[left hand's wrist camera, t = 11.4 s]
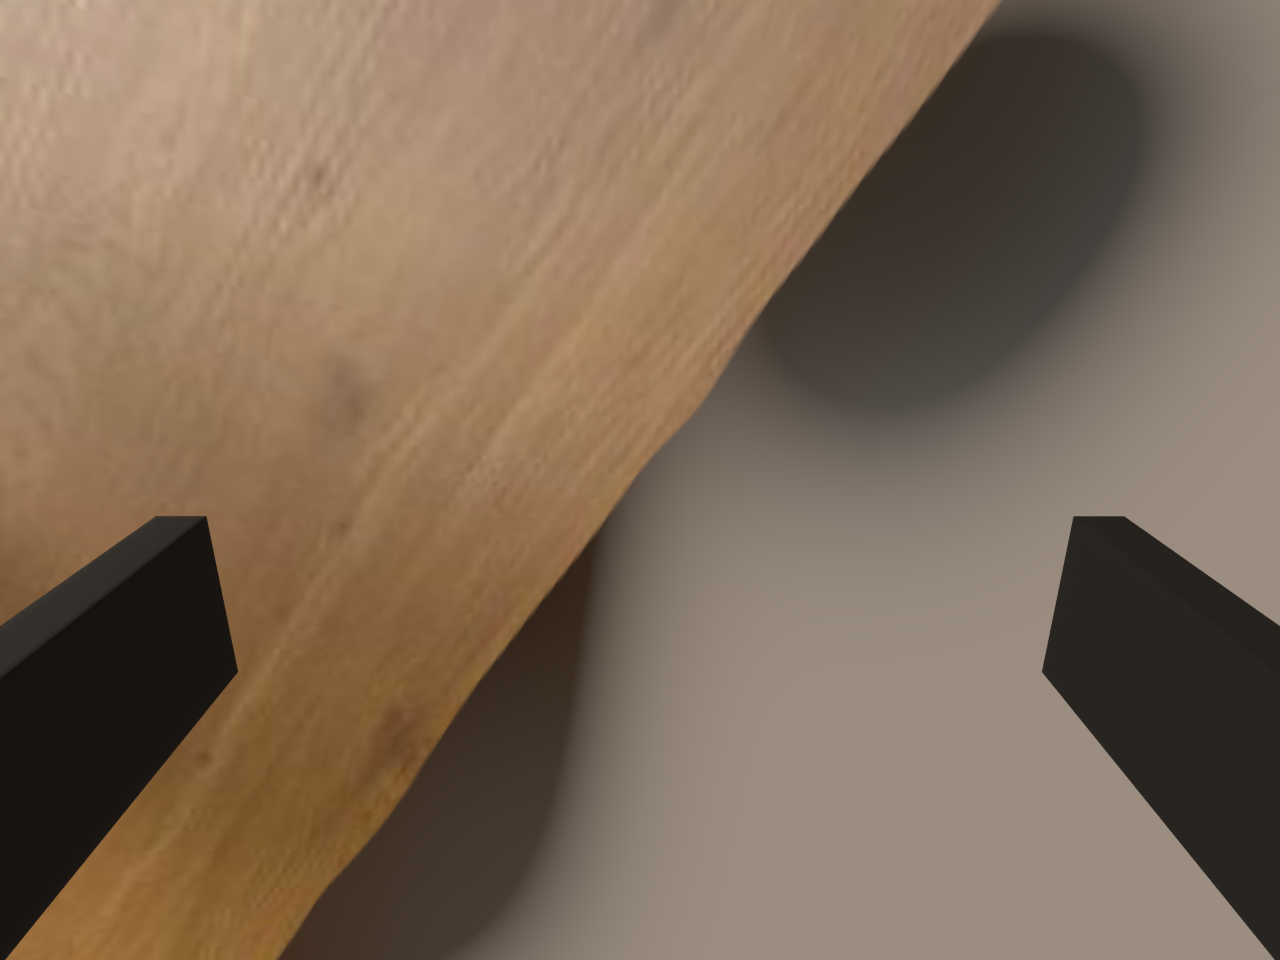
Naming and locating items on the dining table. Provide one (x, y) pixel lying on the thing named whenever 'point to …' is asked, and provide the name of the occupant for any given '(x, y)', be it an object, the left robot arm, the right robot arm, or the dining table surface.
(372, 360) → the dining table surface
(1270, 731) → the left robot arm
